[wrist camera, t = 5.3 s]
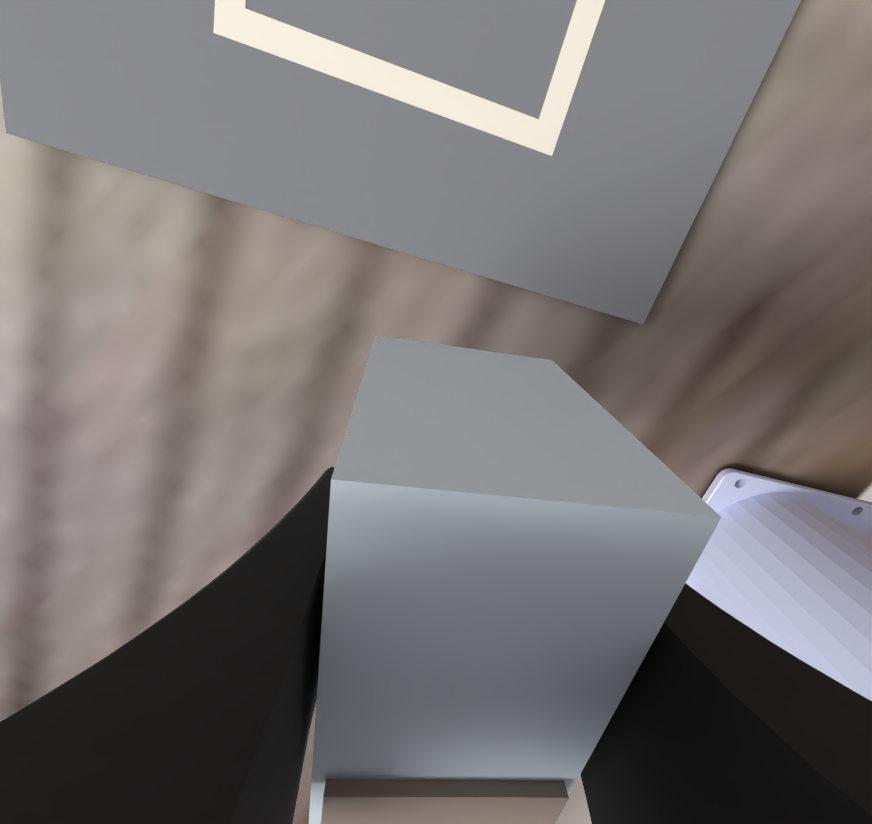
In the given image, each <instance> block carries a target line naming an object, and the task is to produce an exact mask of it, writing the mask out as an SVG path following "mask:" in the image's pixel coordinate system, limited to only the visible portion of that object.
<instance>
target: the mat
mask: <svg viewBox="0 0 872 824" xmlns="http://www.w3.org/2000/svg"><path fill="white" fill-rule="evenodd" d="M800 2H801V0H0V82H1V91H2V100H3V109H4V117H5V126H6V133H8V134H11V135H14V136H18V137H21V138H24V139H28V140H31V141H34V142H38V143H41V144H44V145H48V146H51V147H54V148H58V149H61V150H64V151H68V152H71V153H74V154H78V155H81V156H84V157H88V158H91V159H94V160H98V161H101V162H104V163H108V164H111V165H114V166H117V167H121V168H124V169H127V170H131V171H134V172H137V173H141V174H144V175H147V176H151V177H154V178H157V179H161V180H164V181H167V182H171V183H174V184H177V185H181V186H184V187H187V188H191V189H194V190H197V191H201V192H204V193H207V194H211V195H214V196H217V197H221V198H224V199H227V200H231V201H234V202H237V203H240V204H244V205H247V206H250V207H254V208H257V209H260V210H264V211H267V212H270V213H274V214H277V215H280V216H284V217H287V218H290V219H294V220H297V221H300V222H304V223H307V224H310V225H314V226H317V227H320V228H324V229H327V230H330V231H334V232H337V233H340V234H344V235H347V236H350V237H354V238H357V239H360V240H364V241H367V242H370V243H373V244H377V245H380V246H383V247H387V248H390V249H393V250H397V251H400V252H403V253H407V254H410V255H413V256H417V257H420V258H423V259H427V260H430V261H433V262H437V263H440V264H443V265H447V266H450V267H453V268H457V269H460V270H463V271H467V272H470V273H473V274H477V275H480V276H483V277H487V278H490V279H493V280H496V281H500V282H503V283H506V284H510V285H513V286H516V287H520V288H523V289H526V290H530V291H533V292H536V293H540V294H543V295H546V296H550V297H553V298H556V299H560V300H563V301H566V302H570V303H573V304H576V305H580V306H583V307H586V308H590V309H593V310H596V311H600V312H603V313H606V314H610V315H613V316H616V317H619V318H623V319H626V320H629V321H633V322H636V323H639V324H644V322H645V320H646V318H647V316H648V314H649V312H650V310H651V308H652V306H653V304H654V301H655V299H656V297H657V295H658V293H659V291H660V289H661V287H662V285H663V283H664V281H665V279H666V277H667V275H668V273H669V271H670V269H671V267H672V265H673V263H674V260H675V258H676V256H677V254H678V252H679V250H680V248H681V246H682V244H683V242H684V240H685V238H686V236H687V234H688V232H689V230H690V228H691V226H692V224H693V222H694V219H695V217H696V215H697V213H698V211H699V209H700V207H701V205H702V203H703V201H704V199H705V197H706V195H707V193H708V191H709V189H710V187H711V185H712V183H713V181H714V178H715V176H716V174H717V172H718V170H719V168H720V166H721V164H722V162H723V160H724V158H725V156H726V154H727V152H728V150H729V148H730V146H731V144H732V142H733V140H734V137H735V135H736V133H737V131H738V129H739V127H740V125H741V123H742V121H743V119H744V117H745V115H746V113H747V111H748V109H749V107H750V105H751V103H752V101H753V99H754V96H755V94H756V92H757V90H758V88H759V86H760V84H761V82H762V80H763V78H764V76H765V74H766V72H767V70H768V68H769V66H770V64H771V62H772V60H773V58H774V55H775V53H776V51H777V49H778V47H779V45H780V43H781V41H782V39H783V37H784V35H785V33H786V31H787V29H788V27H789V25H790V23H791V21H792V19H793V17H794V14H795V12H796V10H797V8H798V6H799V4H800Z"/></svg>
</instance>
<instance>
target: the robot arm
mask: <svg viewBox="0 0 872 824" xmlns="http://www.w3.org/2000/svg"><path fill="white" fill-rule="evenodd" d="M333 471H334V467H330V468H329V469H328V470H326V471H325V472H324V473H323V475H322V476H321V477H320V478H319V480H318V481H317V482H316V483H315V484H314V486H313V487H312V488H311V489H310V490H309V491H308V492H307V493H306V495H305V496H304V497H303V498H302V499H301V500H300V501H299V502H298V503H297V504H296V505H295V506H294V507H293V508H292V509H291V510H290V511H289V512H288V513H287V515H286V516H285V517H284V518H283V519H282V520H281V521H280V522H279V523H278V524H277V525H276V526H275V527H274V528H273V529H271V530H270V531H269V532H268V533H267V534H266V535H265V536H264V537H263V538H262V539H261V540H259V541H258V542H257V543H256V544H255V545H254V546H253V547H252V548H251V549H249V550H248V551H247V552H246V553H245V554H244V555H243V556H242V557H241V558H239V559H238V560H237V561H236V562H235V563H234V564H232V565H231V566H230V567H229V568H228V569H226V570H225V571H224V572H223V573H222V574H220V575H219V576H218V577H217V578H215V579H214V580H213V581H212V582H210V583H209V584H208V585H207V586H205V587H204V588H203V589H201V590H200V591H199V592H197V593H196V594H195V595H194V596H192V597H191V598H190V599H188V600H187V601H186V602H184V603H183V604H182V605H180V606H179V607H178V608H176V609H175V610H173V611H172V612H171V613H169V614H168V615H166V616H165V617H163V618H162V619H161V620H159V621H158V622H156V623H155V624H154V625H152V626H151V627H149V628H148V629H146V630H145V631H144V632H142V633H141V634H139V635H138V636H137V637H135V638H134V639H132V640H131V641H129V642H128V643H126V644H125V645H123V646H122V647H120V648H119V649H117V650H116V651H114V652H113V653H111V654H110V655H108V656H107V657H105V658H104V659H102V660H101V661H99V662H98V663H96V664H94V665H93V666H91V667H90V668H88V669H86V670H85V671H83V672H81V673H80V674H78V675H77V676H75V677H73V678H72V679H70V680H68V681H67V682H65V683H64V684H62V685H60V686H59V687H57V688H55V689H54V690H52V691H51V692H49V693H47V694H46V695H44V696H42V697H41V698H39V699H38V700H36V701H34V702H33V703H31V704H29V705H28V706H26V707H25V708H23V709H21V710H20V711H18V712H16V713H15V714H13V715H12V716H10V717H8V718H6V719H5V720H3V721H1V722H0V824H292V822H293V816H294V811H295V805H296V799H297V794H298V789H299V783H300V778H301V772H302V767H303V761H304V756H305V750H306V745H307V739H308V734H309V729H310V725H311V720H312V716H313V712H314V707H315V703H316V699H317V688H318V672H319V657H320V641H321V626H322V610H323V595H324V579H325V564H326V548H327V533H328V517H329V502H330V486H331V478H332V474H333ZM737 480H738V481H737ZM736 481H737V482H736ZM735 482H736V483H735ZM702 500H703V501H705V502H706V503H707V504H708V505H709V506H710V507H711V508H712V509H713V510H714V511H715V512H716V513H718V514H719V515H720V516H721V517H722V518H721V519H720V521H719V523H718V525H717V527H716V528H715V530H714V532H713V534H712V536H711V538H710V539H709V541H708V543H707V545H706V547H705V548H704V550H703V552H702V554H701V556H700V558H699V559H698V561H697V563H696V565H695V567H694V568H693V570H692V572H691V574H690V576H689V578H688V579H687V581H686V583H685V585H684V587H683V588H682V590H681V592H680V594H679V596H678V598H677V599H676V601H675V603H674V605H673V607H672V608H671V610H670V612H669V614H668V616H667V618H666V619H665V621H664V623H663V625H662V627H661V628H660V630H659V632H658V634H657V636H656V638H655V639H654V641H653V643H652V645H651V647H650V648H649V650H648V652H647V654H646V656H645V658H644V659H643V661H642V663H641V665H640V667H639V668H638V670H637V672H636V674H635V676H634V678H633V679H632V681H631V683H630V685H629V687H628V688H627V690H626V692H625V694H624V696H623V698H622V699H621V701H620V703H619V705H618V707H617V708H616V710H615V712H614V714H613V716H612V718H611V719H610V721H609V723H608V725H607V727H606V728H605V730H604V732H603V734H602V736H601V738H600V739H599V741H598V743H597V745H596V747H595V748H594V750H593V752H592V754H591V756H590V758H589V759H588V761H587V763H586V765H585V767H584V768H583V770H582V772H581V778H582V782H583V786H584V790H585V794H586V798H587V803H588V808H589V812H590V816H591V821H592V824H872V503H871V502H867V501H863V500H859V499H855V498H851V497H847V496H843V495H838V494H834V493H830V492H826V491H822V490H818V489H814V488H810V487H806V486H802V485H797V484H793V483H789V482H785V481H781V480H777V479H773V478H769V477H765V476H760V475H756V474H752V473H748V472H744V471H740V470H736V469H731V468H728V469H724V470H722V471H721V472H719V474H718V475H717V476H716V478H715V479H714V481H713V482H712V484H711V485H710V487H709V488H708V490H707V491H706V493H705V494H704V496H703V497H702Z"/></svg>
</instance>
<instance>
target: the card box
mask: <svg viewBox="0 0 872 824" xmlns="http://www.w3.org/2000/svg"><path fill="white" fill-rule="evenodd" d="M721 518H722V517H721V516H720V515H719V514H718V513H716V512H715V511H714V510H713V509H712V508H711V507H710V506H709V505H708V504H707V503H706V502H705V501H703V500H702V499H701V498H700V497H699V496H698V495H697V494H696V493H695V492H694V491H693V490H692V489H691V488H689V487H688V486H687V485H686V484H685V483H684V482H683V481H682V480H681V479H680V478H679V477H678V476H676V475H675V474H674V473H673V472H672V471H671V470H670V469H669V468H668V467H667V466H666V465H665V464H664V463H662V462H661V461H660V460H659V459H658V458H657V457H656V456H655V455H654V454H653V453H652V452H651V451H649V450H648V449H647V448H646V447H645V446H644V445H643V444H642V443H641V442H640V441H639V440H638V439H637V438H635V437H634V436H633V435H632V434H631V433H630V432H629V431H628V430H627V429H626V428H625V427H624V426H622V425H621V424H620V423H619V422H618V421H617V420H616V419H615V418H614V417H613V416H612V415H611V414H610V413H608V412H607V411H606V410H605V409H604V408H603V407H602V406H601V405H600V404H599V403H598V402H597V401H595V400H594V399H593V398H592V397H591V396H590V395H589V394H588V393H587V392H586V391H585V390H584V389H583V388H581V387H580V386H579V385H578V384H577V383H576V382H575V381H574V380H573V379H572V378H571V377H570V376H568V375H567V374H566V373H565V372H564V371H563V370H562V369H561V368H560V367H559V366H558V365H557V364H556V363H554V362H553V361H552V360H547V359H540V358H533V357H525V356H518V355H511V354H504V353H497V352H490V351H483V350H476V349H469V348H462V347H454V346H447V345H440V344H433V343H426V342H419V341H412V340H405V339H398V338H391V337H384V336H376V335H375V338H374V341H373V345H372V348H371V351H370V354H369V358H368V361H367V364H366V367H365V371H364V374H363V377H362V380H361V384H360V387H359V390H358V393H357V397H356V400H355V403H354V406H353V410H352V413H351V416H350V419H349V423H348V426H347V429H346V432H345V435H344V439H343V442H342V445H341V448H340V452H339V455H338V458H337V461H336V465H335V468H334V471H333V474H332V478H331V486H330V502H329V517H328V533H327V548H326V564H325V579H324V595H323V610H322V626H321V641H320V657H319V672H318V688H317V703H316V719H315V734H314V750H313V765H312V781H311V796H310V812H309V824H555V822H556V820H557V818H558V816H559V815H560V813H561V811H562V809H563V807H564V806H565V804H566V802H567V800H568V798H569V794H570V792H571V790H572V788H573V787H574V785H575V783H576V781H577V779H578V777H579V776H580V774H581V772H582V770H583V768H584V767H585V765H586V763H587V761H588V759H589V758H590V756H591V754H592V752H593V750H594V748H595V747H596V745H597V743H598V741H599V739H600V738H601V736H602V734H603V732H604V730H605V728H606V727H607V725H608V723H609V721H610V719H611V718H612V716H613V714H614V712H615V710H616V708H617V707H618V705H619V703H620V701H621V699H622V698H623V696H624V694H625V692H626V690H627V688H628V687H629V685H630V683H631V681H632V679H633V678H634V676H635V674H636V672H637V670H638V668H639V667H640V665H641V663H642V661H643V659H644V658H645V656H646V654H647V652H648V650H649V648H650V647H651V645H652V643H653V641H654V639H655V638H656V636H657V634H658V632H659V630H660V628H661V627H662V625H663V623H664V621H665V619H666V618H667V616H668V614H669V612H670V610H671V608H672V607H673V605H674V603H675V601H676V599H677V598H678V596H679V594H680V592H681V590H682V588H683V587H684V585H685V583H686V581H687V579H688V578H689V576H690V574H691V572H692V570H693V568H694V567H695V565H696V563H697V561H698V559H699V558H700V556H701V554H702V552H703V550H704V548H705V547H706V545H707V543H708V541H709V539H710V538H711V536H712V534H713V532H714V530H715V528H716V527H717V525H718V523H719V521H720V519H721Z"/></svg>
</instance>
